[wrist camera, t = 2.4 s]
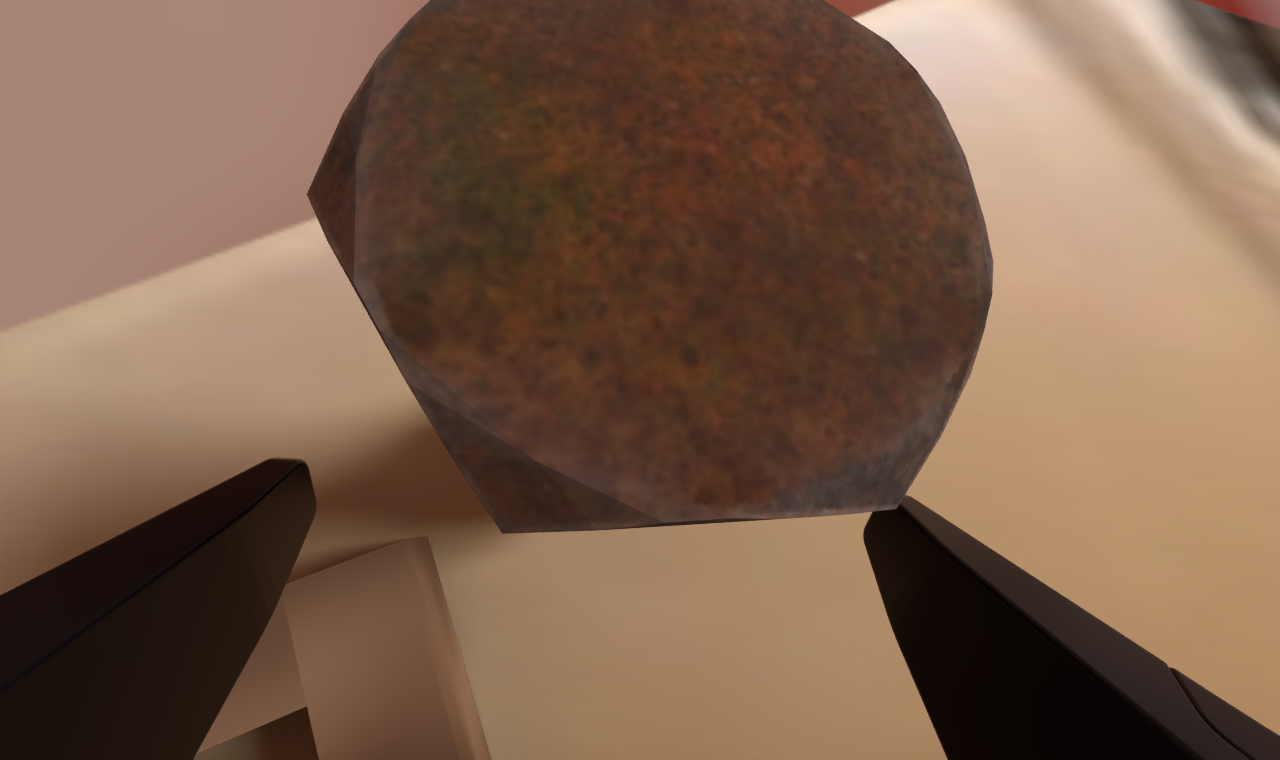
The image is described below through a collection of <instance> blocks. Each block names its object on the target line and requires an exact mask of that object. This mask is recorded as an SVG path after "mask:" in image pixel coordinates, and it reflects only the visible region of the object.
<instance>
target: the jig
mask: <svg viewBox="0 0 1280 760" xmlns="http://www.w3.org/2000/svg"><path fill="white" fill-rule="evenodd" d="M306 706H307V709H308V713H309V718H310V722H311V727H312V731H313V736H314V740H315V745H316V749H317V753H318V758H319V760H491V757H490V754H489V750H488V747H487V743H486V740H485V736H484V733H483V729H482V726H481V722H480V719H479V715H478V712H477V708H476V705H475V701H474V698H473V694H472V691H471V687H470V684H469V680H468V677H467V673H466V670H465V666H464V663H463V659H462V656H461V652H460V649H459V645H458V642H457V638H456V635H455V631H454V628H453V624H452V621H451V617H450V614H449V610H448V607H447V603H446V600H445V596H444V593H443V589H442V586H441V582H440V579H439V575H438V572H437V568H436V565H435V561H434V558H433V554H432V551H431V547H430V544H429V540H428V537H422V538H415V539H409V540H402V541H398V542H395V543H393V544H390V545H387V546H385V547H382V548H379V549H377V550H374V551H372V552H369V553H366V554H364V555H361V556H358V557H356V558H353V559H350V560H348V561H345V562H342V563H340V564H337V565H334V566H332V567H329V568H326V569H324V570H321V571H318V572H316V573H313V574H310V575H308V576H305V577H303V578H300V579H297V580H295V581H292V582H289V583H287V584H286V585H285V588H284V590H283V592H282V595H281V597H280V600H279V602H278V604H277V606H276V608H275V611H274V613H273V615H272V617H271V619H270V621H269V623H268V625H267V627H266V629H265V631H264V633H263V634H262V636H261V638H260V640H259V642H258V644H257V645H256V647H255V649H254V651H253V653H252V654H251V656H250V658H249V660H248V662H247V663H246V665H245V667H244V669H243V671H242V672H241V674H240V676H239V678H238V680H237V681H236V683H235V685H234V687H233V689H232V690H231V692H230V694H229V696H228V698H227V699H226V701H225V703H224V705H223V707H222V708H221V710H220V712H219V714H218V716H217V717H216V719H215V721H214V723H213V725H212V726H211V728H210V730H209V732H208V734H207V735H206V737H205V739H204V741H203V743H202V744H201V746H200V748H199V750H198V752H197V753H196V754H198V753H200V752H202V751H205V750H207V749H209V748H212V747H214V746H216V745H218V744H221V743H223V742H225V741H228V740H230V739H232V738H235V737H237V736H239V735H242V734H244V733H246V732H248V731H251V730H253V729H255V728H258V727H260V726H262V725H265V724H267V723H269V722H271V721H274V720H276V719H278V718H281V717H283V716H285V715H288V714H290V713H292V712H294V711H297V710H299V709H301V708H304V707H306Z"/></svg>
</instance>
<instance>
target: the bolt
mask: <svg viewBox="0 0 1280 760" xmlns="http://www.w3.org/2000/svg"><path fill="white" fill-rule="evenodd" d="M307 195H308V198H309V200H310V202H311V205H312V207H313V209H314V211H315V214H316V216H317V218H318V221H319V223H320V225H321V227H322V230H323V232H324V234H325V236H326V239H327V241H328V243H329V245H330V246H331V248H332V250H333V252H334V254H335V255H336V257H337V259H338V261H339V263H340V264H341V266H342V268H343V270H344V272H345V273H346V275H347V277H348V279H349V281H350V282H351V284H352V286H353V288H354V289H355V291H356V293H357V295H358V297H359V298H360V300H361V302H362V304H363V306H364V307H365V309H366V311H367V313H368V315H369V316H370V318H371V320H372V322H373V324H374V325H375V327H376V329H377V331H378V333H379V334H380V336H381V338H382V340H383V341H384V343H385V345H386V347H387V349H388V350H389V352H390V354H391V356H392V358H393V359H394V361H395V363H396V365H397V367H398V368H399V370H400V372H401V374H402V376H403V377H404V379H405V381H406V383H407V384H408V386H409V388H410V389H411V391H412V392H413V394H414V396H415V397H416V399H417V401H418V402H419V404H420V406H421V407H422V409H423V411H424V412H425V414H426V416H427V417H428V419H429V421H430V422H431V424H432V425H433V427H434V429H435V430H436V432H437V434H438V435H439V437H440V439H441V440H442V442H443V444H444V445H445V447H446V449H447V450H448V452H449V453H450V455H451V456H452V458H453V459H454V461H455V463H456V464H457V466H458V467H459V469H460V470H461V472H462V473H463V475H464V476H465V478H466V479H467V481H468V482H469V484H470V485H471V487H472V488H473V490H474V491H475V493H476V494H477V496H478V497H479V499H480V500H481V502H482V503H483V505H484V506H485V508H486V509H487V511H488V512H489V514H490V515H491V517H492V518H493V520H494V522H495V523H496V525H497V526H498V528H499V529H500V531H501V532H502V534H505V533H534V532H563V531H592V530H610V529H626V528H642V527H658V526H674V525H690V524H707V523H723V522H739V521H755V520H771V519H787V518H802V517H817V516H832V515H845V514H854V513H864V512H873V511H883V510H892V509H897V507H898V506H899V504H900V502H901V501H902V499H903V497H904V496H905V494H906V492H907V491H908V489H909V488H910V486H911V484H912V483H913V481H914V479H915V478H916V476H917V474H918V473H919V471H920V470H921V468H922V466H923V465H924V463H925V461H926V460H927V458H928V456H929V455H930V453H931V452H932V450H933V448H934V447H935V445H936V443H937V442H938V440H939V438H940V437H941V435H942V433H943V431H944V429H945V427H946V425H947V423H948V421H949V418H950V416H951V414H952V412H953V410H954V408H955V406H956V404H957V402H958V399H959V397H960V395H961V393H962V391H963V389H964V387H965V385H966V383H967V381H968V378H969V376H970V374H971V371H972V368H973V365H974V362H975V358H976V355H977V352H978V349H979V345H980V342H981V339H982V336H983V333H984V328H985V324H986V320H987V315H988V311H989V306H990V302H991V297H992V284H993V258H992V253H991V248H990V244H989V239H988V234H987V229H986V224H985V221H984V217H983V214H982V210H981V207H980V204H979V200H978V197H977V194H976V190H975V187H974V183H973V180H972V177H971V173H970V170H969V166H968V163H967V160H966V156H965V154H964V152H963V150H962V148H961V146H960V144H959V142H958V140H957V137H956V135H955V133H954V131H953V129H952V127H951V125H950V123H949V121H948V119H947V116H946V114H945V112H944V110H943V108H942V106H941V104H940V102H939V101H938V100H937V98H936V97H935V95H934V94H933V93H932V91H931V90H930V88H929V87H928V86H927V84H926V83H925V81H924V80H923V79H922V77H921V76H920V75H919V73H918V72H917V70H916V69H915V68H914V67H913V66H912V65H911V64H910V63H909V62H908V61H907V60H906V59H905V58H904V57H903V56H902V55H901V54H900V53H899V52H898V51H897V50H896V49H895V48H894V47H893V46H892V45H891V43H890V42H888V41H887V40H885V39H884V38H882V37H880V36H879V35H877V34H876V33H874V32H873V31H871V30H869V29H868V28H866V27H865V26H863V25H861V24H860V23H858V22H857V21H855V20H854V19H852V18H850V17H849V16H847V15H846V14H844V13H843V12H841V11H839V10H837V9H836V8H835V7H833V6H831V5H830V4H828V3H827V2H825V1H824V0H430V1H429V2H428V3H427V4H426V5H425V6H424V7H423V8H422V9H421V10H419V11H418V12H417V13H416V14H415V15H414V16H413V17H412V18H411V19H410V20H409V21H408V22H407V23H406V24H405V25H404V27H403V28H402V29H401V30H400V31H399V32H398V33H397V34H396V36H395V37H394V38H393V39H392V40H391V41H390V42H389V44H388V45H387V46H386V47H385V48H384V49H383V50H382V52H381V53H380V54H379V55H378V57H377V59H376V60H375V62H374V64H373V65H372V67H371V68H370V70H369V72H368V73H367V75H366V77H365V78H364V80H363V82H362V83H361V85H360V86H359V88H358V90H357V92H356V93H355V95H354V96H353V98H352V100H351V101H350V103H349V105H348V106H347V108H346V110H345V111H344V113H343V115H342V117H341V119H340V122H339V124H338V126H337V128H336V131H335V133H334V135H333V137H332V140H331V142H330V144H329V146H328V148H327V151H326V153H325V155H324V157H323V159H322V162H321V164H320V166H319V168H318V171H317V173H316V175H315V177H314V180H313V182H312V185H311V186H310V189H309V191H308V193H307Z"/></svg>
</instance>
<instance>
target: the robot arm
mask: <svg viewBox="0 0 1280 760" xmlns="http://www.w3.org/2000/svg"><path fill="white" fill-rule="evenodd" d="M315 513H316V498H315V493H314V489H313V485H312V481H311V476H310V472H309V468H308V465H307V464H306V462H305V461H303V460H301V459H292V458H270V459H268V460H266V461H263V462H261V463H260V464H258V465H256V466H254V467H252V468H250V469H248V470H246V471H244V472H242V473H240V474H238V475H236V476H234V477H232V478H230V479H228V480H226V481H224V482H222V483H220V484H218V485H216V486H214V487H212V488H210V489H208V490H206V491H204V492H202V493H201V494H199V495H197V496H195V497H193V498H191V499H189V500H187V501H185V502H183V503H181V504H179V505H177V506H175V507H173V508H171V509H169V510H167V511H165V512H163V513H161V514H159V515H157V516H155V517H153V518H151V519H149V520H147V521H145V522H143V523H142V524H140V525H138V526H136V527H134V528H132V529H130V530H128V531H126V532H124V533H122V534H120V535H118V536H116V537H114V538H112V539H110V540H108V541H106V542H104V543H102V544H100V545H98V546H96V547H94V548H92V549H90V550H88V551H86V552H85V553H83V554H81V555H79V556H77V557H75V558H73V559H71V560H69V561H67V562H65V563H63V564H61V565H59V566H57V567H55V568H53V569H51V570H49V571H47V572H45V573H43V574H41V575H39V576H37V577H35V578H33V579H31V580H29V581H27V582H25V583H23V584H21V585H20V586H18V587H16V588H14V589H12V590H10V591H8V592H6V593H4V594H2V595H0V760H193V759H194V757H195V755H196V753H197V752H198V750H199V748H200V746H201V744H202V743H203V741H204V739H205V737H206V735H207V734H208V732H209V730H210V728H211V726H212V725H213V723H214V721H215V719H216V717H217V716H218V714H219V712H220V710H221V708H222V707H223V705H224V703H225V701H226V699H227V698H228V696H229V694H230V692H231V690H232V689H233V687H234V685H235V683H236V681H237V680H238V678H239V676H240V674H241V672H242V671H243V669H244V667H245V665H246V663H247V662H248V660H249V658H250V656H251V654H252V653H253V651H254V649H255V647H256V645H257V644H258V642H259V640H260V638H261V636H262V634H263V633H264V631H265V629H266V627H267V625H268V623H269V621H270V619H271V617H272V615H273V613H274V611H275V608H276V606H277V604H278V602H279V600H280V597H281V595H282V592H283V590H284V588H285V585H286V583H287V581H288V578H289V576H290V574H291V571H292V569H293V567H294V564H295V562H296V559H297V557H298V555H299V552H300V550H301V548H302V545H303V543H304V541H305V538H306V536H307V533H308V531H309V529H310V526H311V524H312V522H313V519H314V517H315ZM863 537H864V544H865V547H866V550H867V553H868V556H869V559H870V562H871V566H872V569H873V572H874V575H875V578H876V581H877V584H878V587H879V591H880V594H881V597H882V600H883V603H884V606H885V609H886V612H887V615H888V618H889V621H890V624H891V627H892V630H893V632H894V635H895V637H896V640H897V642H898V645H899V647H900V649H901V652H902V654H903V656H904V659H905V661H906V663H907V666H908V668H909V670H910V673H911V675H912V677H913V680H914V682H915V685H916V687H917V689H918V692H919V694H920V696H921V699H922V701H923V703H924V706H925V708H926V710H927V713H928V715H929V717H930V720H931V722H932V724H933V727H934V729H935V731H936V734H937V736H938V738H939V741H940V743H941V745H942V748H943V750H944V752H945V755H946V757H947V759H948V760H1280V736H1279V735H1278V734H1276V733H1274V732H1273V731H1271V730H1269V729H1268V728H1266V727H1265V726H1263V725H1262V724H1260V723H1258V722H1257V721H1255V720H1254V719H1252V718H1251V717H1249V716H1247V715H1246V714H1244V713H1243V712H1241V711H1240V710H1238V709H1236V708H1235V707H1233V706H1232V705H1230V704H1229V703H1227V702H1225V701H1224V700H1222V699H1221V698H1219V697H1218V696H1216V695H1215V694H1213V693H1211V692H1210V691H1208V690H1207V689H1205V688H1204V687H1202V686H1201V685H1199V684H1198V683H1196V682H1195V681H1193V680H1191V679H1190V678H1188V677H1187V676H1185V675H1184V674H1182V673H1181V672H1179V671H1178V670H1176V669H1174V668H1169V667H1168V665H1167V664H1166V663H1165V662H1164V661H1162V660H1161V659H1159V658H1158V657H1156V656H1154V655H1153V654H1151V653H1150V652H1148V651H1147V650H1145V649H1144V648H1142V647H1141V646H1139V645H1138V644H1136V643H1135V642H1133V641H1131V640H1130V639H1128V638H1127V637H1125V636H1124V635H1122V634H1121V633H1119V632H1118V631H1116V630H1115V629H1113V628H1112V627H1110V626H1108V625H1107V624H1105V623H1104V622H1102V621H1101V620H1099V619H1098V618H1096V617H1095V616H1093V615H1092V614H1090V613H1089V612H1087V611H1085V610H1084V609H1082V608H1081V607H1079V606H1078V605H1076V604H1075V603H1073V602H1072V601H1070V600H1069V599H1067V598H1066V597H1064V596H1062V595H1061V594H1059V593H1058V592H1056V591H1055V590H1053V589H1052V588H1050V587H1049V586H1047V585H1046V584H1044V583H1043V582H1041V581H1039V580H1038V579H1036V578H1035V577H1033V576H1032V575H1030V574H1029V573H1027V572H1026V571H1024V570H1023V569H1021V568H1020V567H1018V566H1016V565H1015V564H1013V563H1012V562H1010V561H1009V560H1007V559H1006V558H1004V557H1003V556H1001V555H1000V554H998V553H997V552H995V551H993V550H992V549H990V548H989V547H987V546H986V545H984V544H983V543H981V542H980V541H978V540H977V539H975V538H974V537H972V536H970V535H969V534H967V533H966V532H964V531H963V530H961V529H960V528H958V527H957V526H955V525H954V524H952V523H951V522H949V521H947V520H946V519H944V518H943V517H941V516H940V515H938V514H937V513H935V512H934V511H932V510H931V509H929V508H928V507H926V506H924V505H923V504H921V503H920V502H918V501H917V500H915V499H914V498H912V497H910V496H907V495H905V496H904V497H903V499H902V501H901V502H900V504H899V506H898V507H897V509H892V510H883V511H873V512H872V514H871V516H870V518H869V520H868V522H867V524H866V526H865V528H864V535H863Z"/></svg>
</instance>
